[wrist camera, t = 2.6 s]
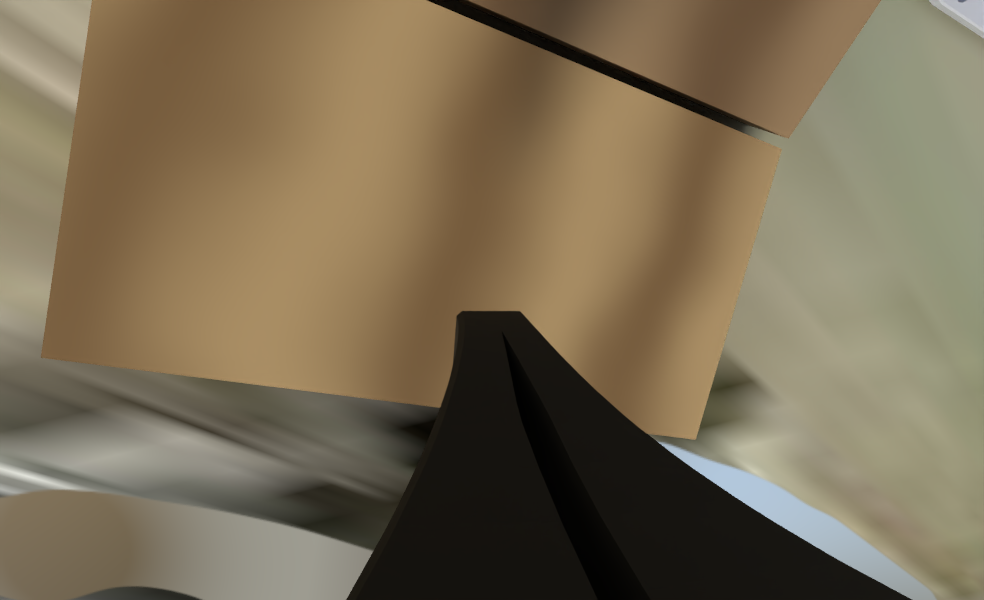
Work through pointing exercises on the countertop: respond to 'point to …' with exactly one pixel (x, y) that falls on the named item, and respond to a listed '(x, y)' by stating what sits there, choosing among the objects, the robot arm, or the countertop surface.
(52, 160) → the countertop surface
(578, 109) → the oak plank
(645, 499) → the robot arm
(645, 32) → the walnut plank
